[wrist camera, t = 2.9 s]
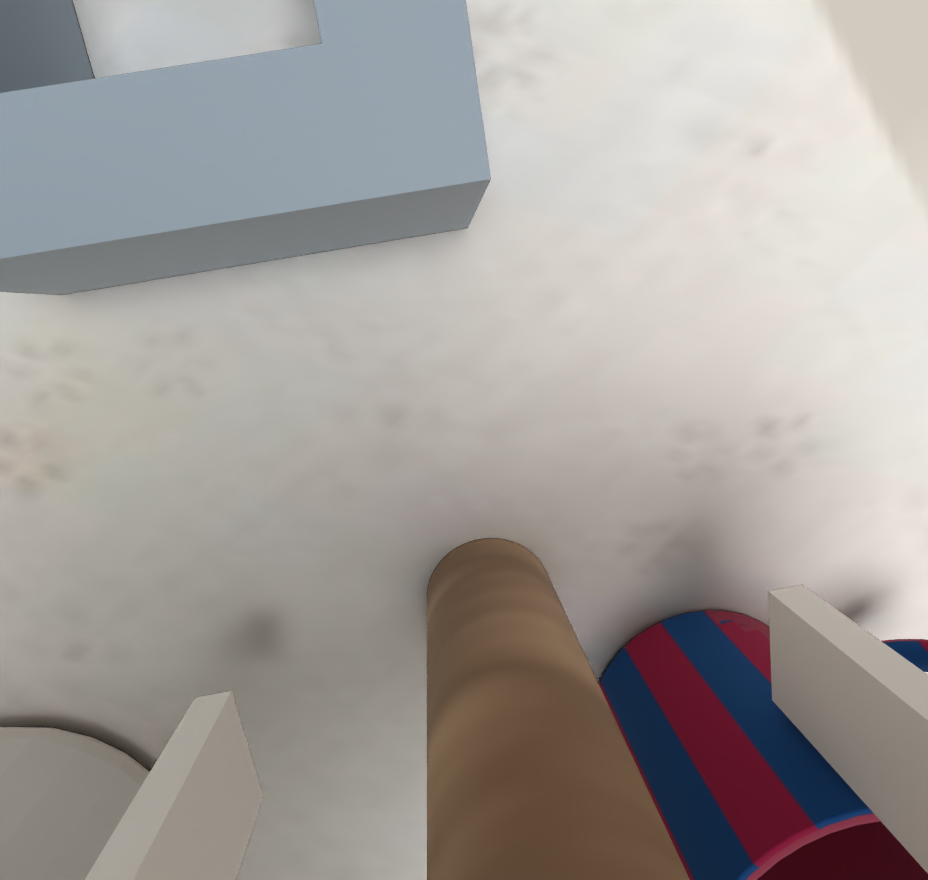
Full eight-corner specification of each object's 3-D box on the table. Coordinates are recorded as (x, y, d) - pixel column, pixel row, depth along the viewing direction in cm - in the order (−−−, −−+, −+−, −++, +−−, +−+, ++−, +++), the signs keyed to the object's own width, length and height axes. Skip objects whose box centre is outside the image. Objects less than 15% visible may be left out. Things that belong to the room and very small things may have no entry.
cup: (557, 665, 17) (645, 900, 10) (864, 524, 16) (1169, 671, 10) (635, 823, 18) (757, 1118, 11) (918, 698, 18) (1212, 928, 11)
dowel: (437, 663, 16) (465, 1567, 5) (414, 549, 15) (375, 1300, 4) (559, 640, 16) (896, 1466, 5) (543, 525, 15) (908, 1184, 4)
